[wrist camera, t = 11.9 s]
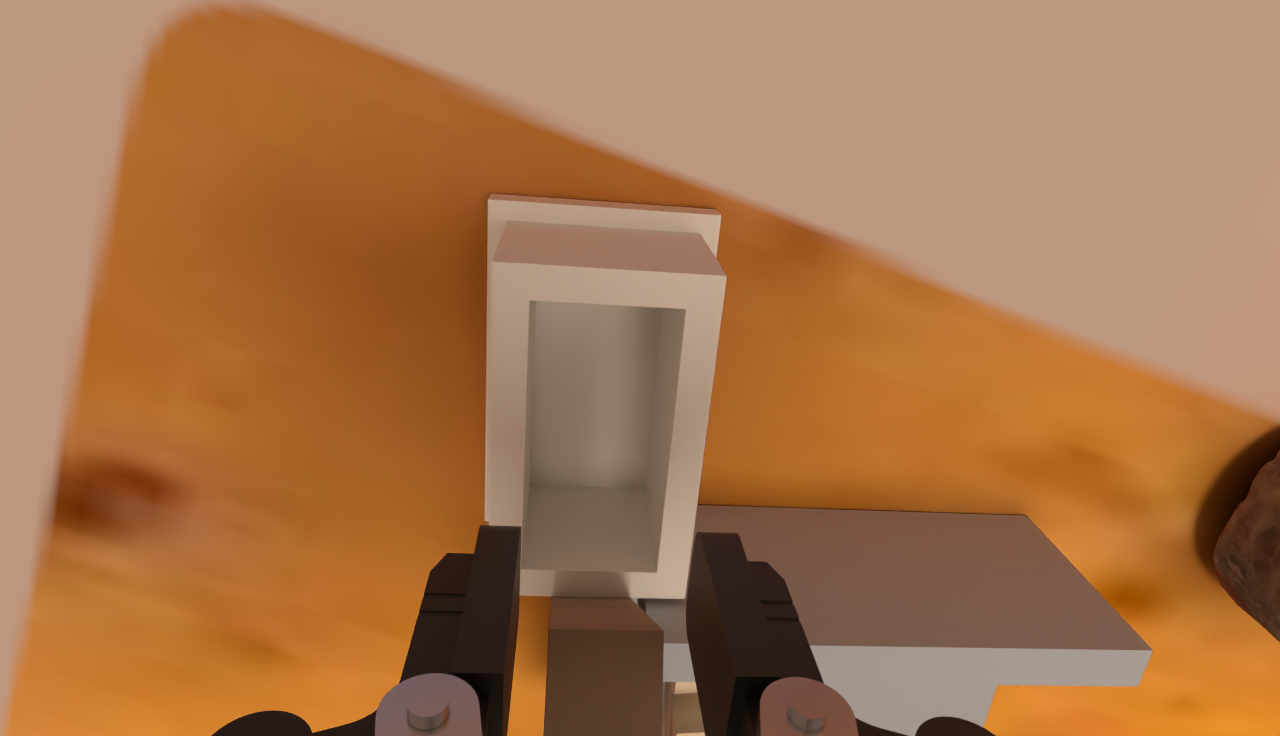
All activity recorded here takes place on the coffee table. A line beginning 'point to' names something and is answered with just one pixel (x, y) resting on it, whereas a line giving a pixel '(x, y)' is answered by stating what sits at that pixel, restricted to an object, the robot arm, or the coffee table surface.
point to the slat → (603, 669)
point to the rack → (923, 609)
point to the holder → (599, 388)
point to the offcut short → (685, 715)
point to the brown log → (1254, 550)
